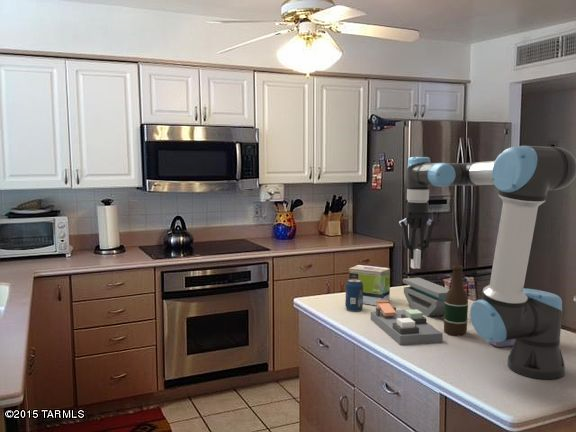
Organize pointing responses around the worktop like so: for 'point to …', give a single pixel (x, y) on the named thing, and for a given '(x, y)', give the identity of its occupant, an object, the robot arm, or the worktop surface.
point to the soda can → (354, 295)
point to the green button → (413, 314)
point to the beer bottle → (456, 305)
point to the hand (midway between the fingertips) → (415, 267)
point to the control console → (406, 335)
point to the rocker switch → (386, 308)
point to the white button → (405, 323)
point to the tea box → (372, 282)
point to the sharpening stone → (425, 296)
